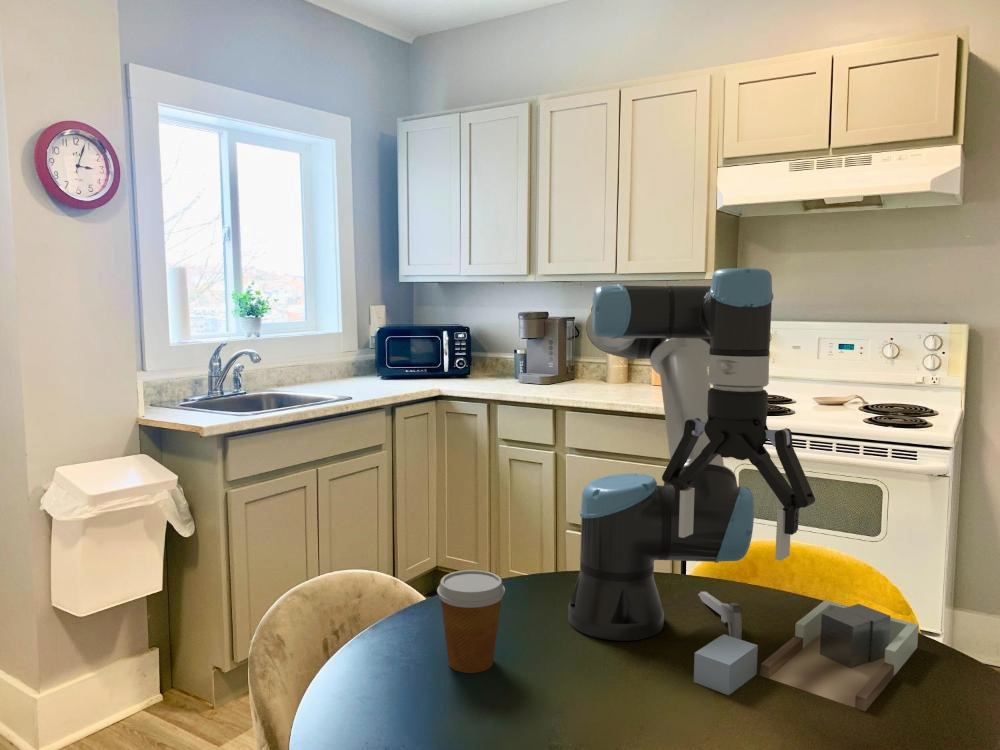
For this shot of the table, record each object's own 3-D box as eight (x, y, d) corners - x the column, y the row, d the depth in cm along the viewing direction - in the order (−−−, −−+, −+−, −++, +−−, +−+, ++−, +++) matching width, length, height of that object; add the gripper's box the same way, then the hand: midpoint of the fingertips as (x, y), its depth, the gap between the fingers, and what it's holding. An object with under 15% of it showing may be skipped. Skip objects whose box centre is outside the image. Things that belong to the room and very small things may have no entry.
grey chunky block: (839, 648, 111) (841, 608, 111) (856, 642, 113) (858, 603, 113) (871, 662, 107) (873, 621, 107) (888, 656, 109) (890, 615, 109)
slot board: (760, 680, 103) (760, 663, 103) (823, 626, 121) (824, 611, 121) (864, 717, 94) (865, 698, 94) (916, 652, 112) (917, 637, 112)
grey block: (694, 652, 101) (723, 634, 107) (693, 688, 101) (722, 668, 107) (729, 665, 98) (757, 645, 103) (728, 702, 98) (756, 680, 104)
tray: (794, 646, 112) (795, 623, 112) (823, 621, 121) (824, 600, 121) (893, 676, 103) (894, 651, 103) (917, 647, 112) (918, 624, 112)
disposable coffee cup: (423, 663, 108) (423, 580, 107) (471, 641, 115) (471, 564, 114) (470, 686, 101) (471, 599, 100) (518, 662, 108) (519, 580, 107)
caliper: (741, 649, 114) (743, 608, 113) (734, 649, 114) (735, 608, 113) (703, 596, 134) (704, 562, 133) (697, 596, 134) (698, 561, 133)
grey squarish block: (819, 654, 110) (821, 613, 109) (837, 648, 112) (839, 608, 111) (850, 668, 105) (852, 626, 105) (869, 662, 107) (871, 620, 107)
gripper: (639, 382, 105) (636, 532, 107) (825, 398, 88) (817, 575, 90) (667, 378, 111) (663, 521, 113) (847, 393, 94) (838, 560, 96)
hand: (732, 546), depth 102 cm, fingers open, 13 cm apart
